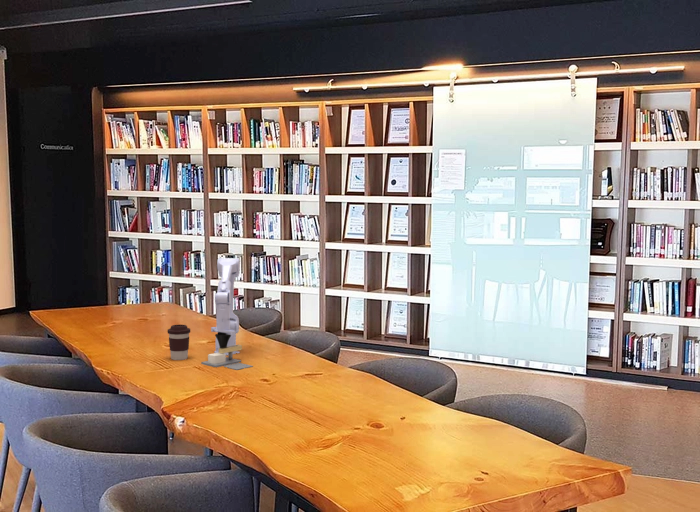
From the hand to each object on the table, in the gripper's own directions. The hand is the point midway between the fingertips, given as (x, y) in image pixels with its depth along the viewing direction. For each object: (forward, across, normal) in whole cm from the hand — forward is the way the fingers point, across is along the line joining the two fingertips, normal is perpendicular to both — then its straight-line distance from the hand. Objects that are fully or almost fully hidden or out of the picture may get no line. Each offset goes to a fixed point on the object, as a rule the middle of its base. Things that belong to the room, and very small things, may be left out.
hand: (223, 349), depth 336 cm
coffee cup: (+6, -19, -10) cm, 22 cm away
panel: (+5, +2, -2) cm, 6 cm away
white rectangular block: (+4, +2, -5) cm, 7 cm away
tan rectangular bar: (+1, +2, +2) cm, 3 cm away
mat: (+5, +12, -1) cm, 13 cm away
